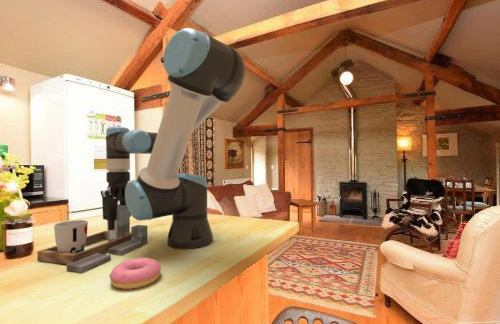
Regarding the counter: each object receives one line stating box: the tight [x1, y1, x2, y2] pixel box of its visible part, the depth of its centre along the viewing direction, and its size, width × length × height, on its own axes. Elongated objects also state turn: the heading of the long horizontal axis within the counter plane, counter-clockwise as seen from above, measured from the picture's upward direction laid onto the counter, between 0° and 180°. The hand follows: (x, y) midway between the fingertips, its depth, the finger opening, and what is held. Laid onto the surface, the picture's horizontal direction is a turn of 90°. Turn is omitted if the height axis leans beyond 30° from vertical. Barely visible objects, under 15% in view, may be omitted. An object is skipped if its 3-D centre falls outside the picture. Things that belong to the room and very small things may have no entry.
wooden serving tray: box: [36, 204, 131, 266], centre depth 84 cm, size 13×25×12 cm, turn 162°
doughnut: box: [108, 257, 162, 290], centre depth 61 cm, size 11×11×4 cm
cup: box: [53, 219, 89, 254], centre depth 77 cm, size 8×8×10 cm
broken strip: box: [66, 224, 149, 274], centre depth 78 cm, size 5×25×6 cm, turn 162°
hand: (118, 236), depth 94 cm, fingers closed on wooden serving tray, 4 cm apart
